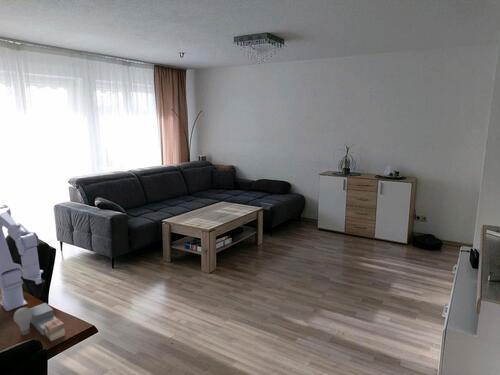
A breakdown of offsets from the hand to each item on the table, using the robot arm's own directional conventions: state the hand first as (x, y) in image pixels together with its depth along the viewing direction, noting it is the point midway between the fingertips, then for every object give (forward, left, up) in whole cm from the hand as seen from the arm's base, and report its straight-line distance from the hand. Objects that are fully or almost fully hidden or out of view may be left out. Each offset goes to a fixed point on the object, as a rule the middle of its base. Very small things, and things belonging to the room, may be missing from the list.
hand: (34, 294), depth 147 cm
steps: (+8, 0, -10) cm, 13 cm away
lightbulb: (+9, -7, -11) cm, 16 cm away
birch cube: (+18, 0, -6) cm, 19 cm away
